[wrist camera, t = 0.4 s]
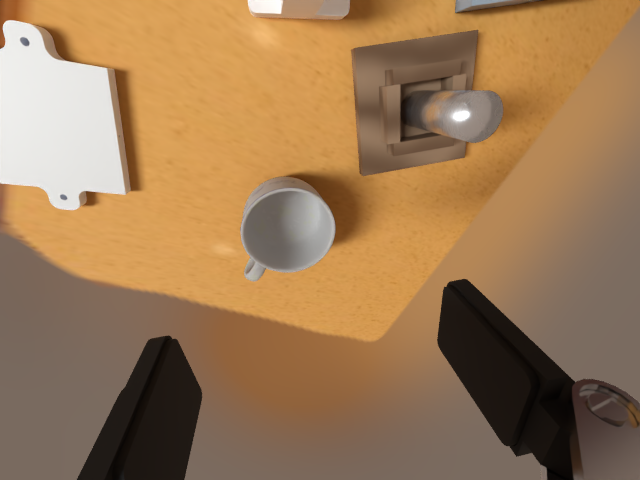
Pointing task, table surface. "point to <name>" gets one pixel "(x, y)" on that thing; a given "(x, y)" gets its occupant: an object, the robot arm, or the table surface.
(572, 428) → the robot arm
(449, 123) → the pin
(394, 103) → the brown square socket base
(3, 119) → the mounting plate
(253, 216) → the teacup
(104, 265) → the table surface
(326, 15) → the cable organizer
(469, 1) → the tray
